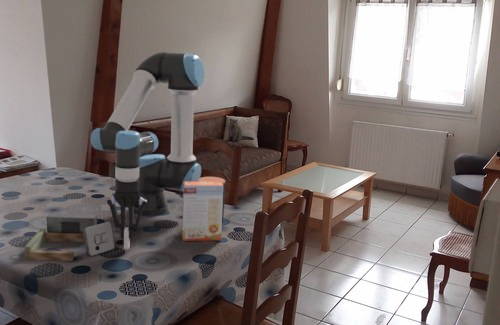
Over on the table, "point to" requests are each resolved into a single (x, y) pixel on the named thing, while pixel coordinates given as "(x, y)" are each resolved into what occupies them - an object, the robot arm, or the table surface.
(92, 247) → the electrical switch
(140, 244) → the table surface
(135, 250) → the table surface
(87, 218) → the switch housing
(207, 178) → the coffee jar
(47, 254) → the bay
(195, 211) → the cracker box
